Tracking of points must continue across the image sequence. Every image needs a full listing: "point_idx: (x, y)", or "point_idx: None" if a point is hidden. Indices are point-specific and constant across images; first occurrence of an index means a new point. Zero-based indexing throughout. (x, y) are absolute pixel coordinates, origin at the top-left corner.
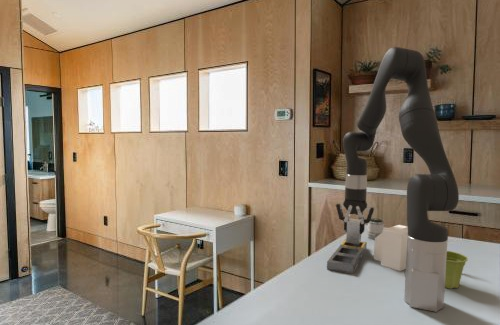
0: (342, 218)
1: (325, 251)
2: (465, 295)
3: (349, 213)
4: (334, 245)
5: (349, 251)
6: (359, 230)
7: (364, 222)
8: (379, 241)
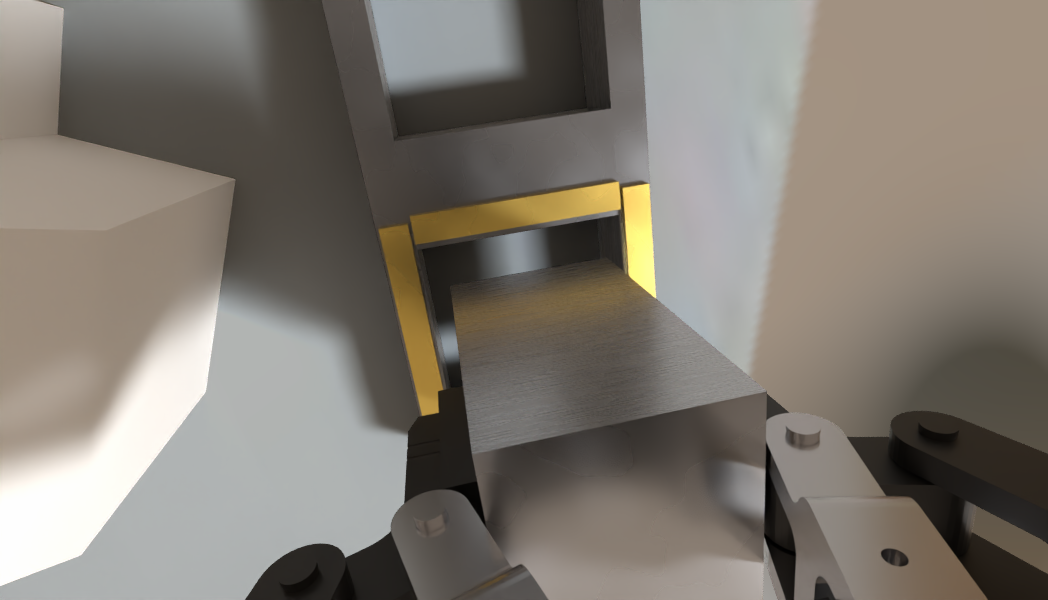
0: (899, 444)
1: (758, 94)
2: None
3: (856, 569)
4: (725, 341)
5: (507, 121)
6: (462, 375)
7: (393, 550)
8: (6, 196)
